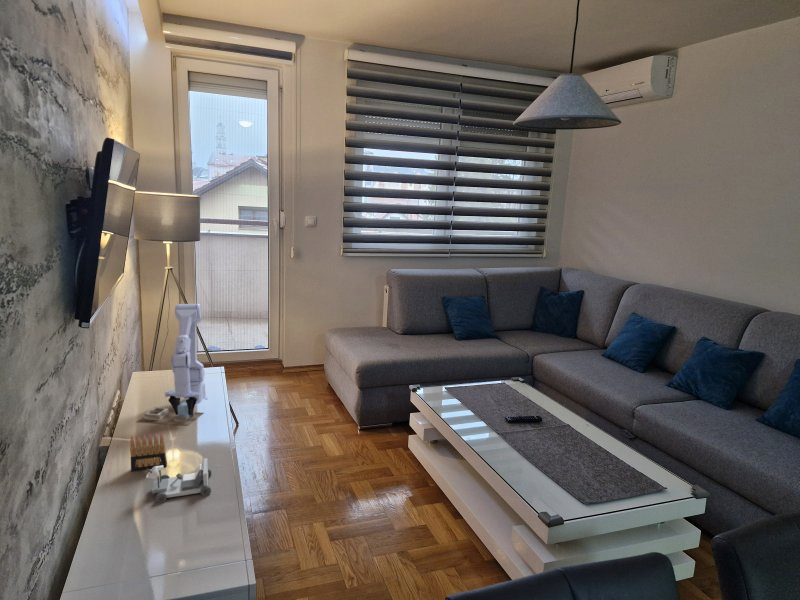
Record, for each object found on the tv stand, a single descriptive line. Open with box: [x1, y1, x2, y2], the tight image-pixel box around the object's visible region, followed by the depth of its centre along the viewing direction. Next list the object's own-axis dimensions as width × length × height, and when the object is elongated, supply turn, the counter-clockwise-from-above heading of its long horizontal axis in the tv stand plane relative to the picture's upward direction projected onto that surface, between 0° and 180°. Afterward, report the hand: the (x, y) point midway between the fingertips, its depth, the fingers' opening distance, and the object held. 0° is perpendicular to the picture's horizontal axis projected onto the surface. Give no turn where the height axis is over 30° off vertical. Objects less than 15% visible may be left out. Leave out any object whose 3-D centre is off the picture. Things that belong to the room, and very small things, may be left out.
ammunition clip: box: [129, 432, 168, 472], centre depth 170 cm, size 11×2×12 cm, turn 108°
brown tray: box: [135, 406, 205, 427], centre depth 209 cm, size 13×22×3 cm, turn 83°
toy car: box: [145, 457, 212, 503], centre depth 158 cm, size 18×10×12 cm
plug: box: [178, 401, 191, 419], centre depth 208 cm, size 4×3×6 cm
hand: (184, 414), depth 208 cm, fingers open, 5 cm apart
